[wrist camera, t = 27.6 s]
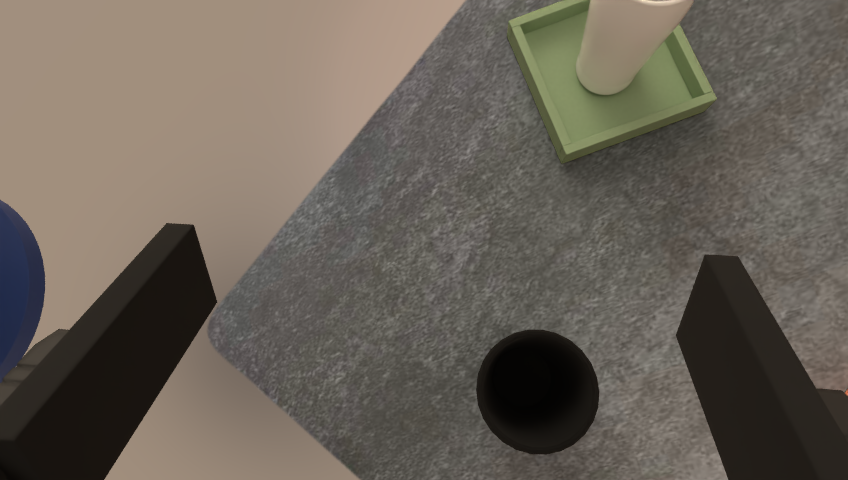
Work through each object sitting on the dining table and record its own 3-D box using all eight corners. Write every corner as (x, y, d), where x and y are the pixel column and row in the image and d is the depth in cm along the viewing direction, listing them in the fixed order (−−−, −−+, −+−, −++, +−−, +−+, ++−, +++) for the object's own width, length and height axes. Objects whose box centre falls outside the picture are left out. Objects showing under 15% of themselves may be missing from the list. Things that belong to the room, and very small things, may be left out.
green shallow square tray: (506, 36, 52) (508, 20, 49) (642, -15, 51) (651, -34, 49) (561, 164, 49) (566, 154, 46) (704, 111, 49) (717, 99, 46)
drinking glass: (657, 61, 49) (735, -56, 35) (614, 119, 49) (675, 25, 34) (594, 23, 50) (643, -106, 36) (551, 78, 50) (583, -29, 35)
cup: (562, 430, 45) (594, 464, 33) (470, 416, 46) (469, 444, 34) (570, 337, 46) (604, 338, 35) (481, 325, 47) (484, 322, 35)
